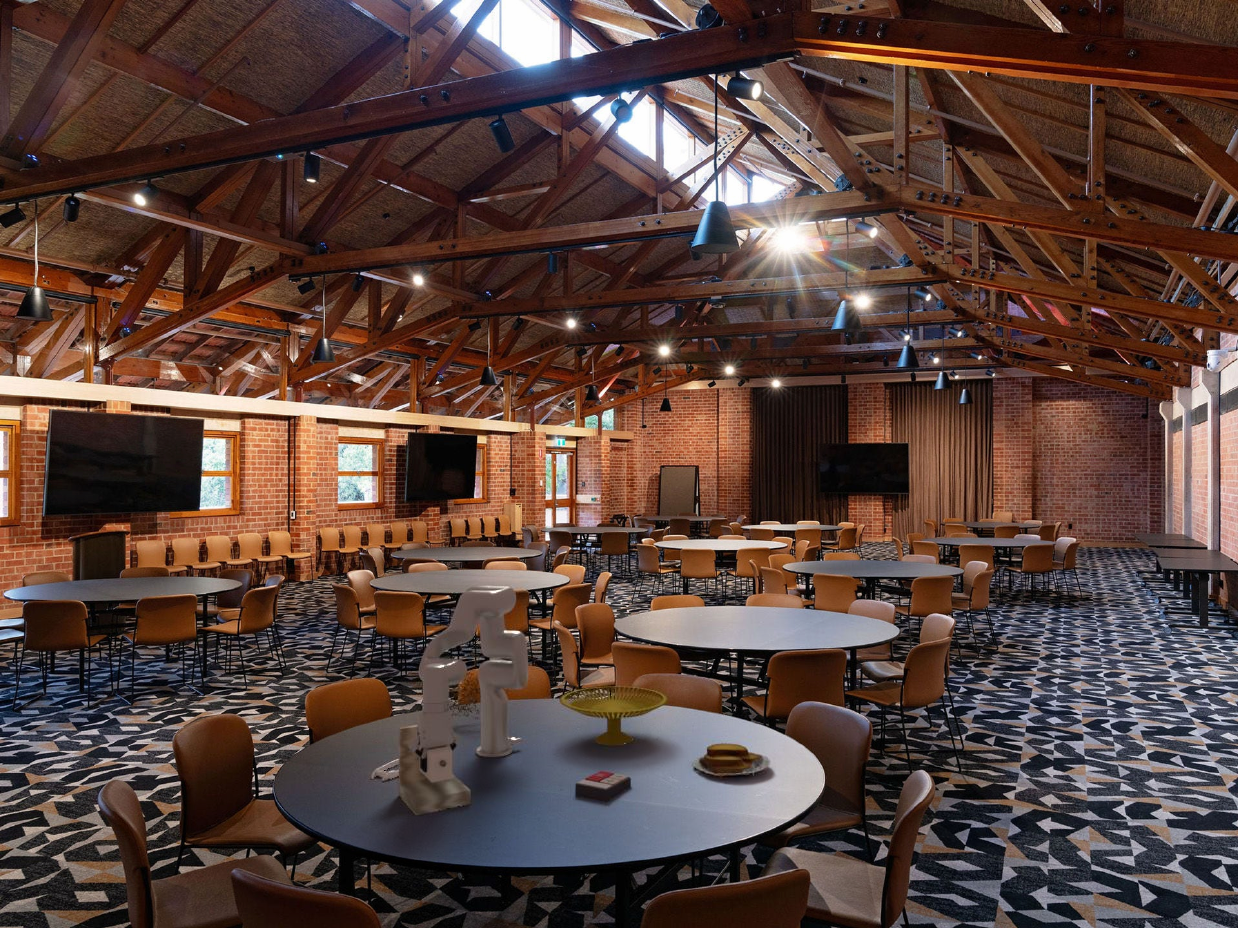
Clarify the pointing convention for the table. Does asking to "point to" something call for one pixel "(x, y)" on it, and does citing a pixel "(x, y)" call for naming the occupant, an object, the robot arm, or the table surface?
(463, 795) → the beige zigzag bookend
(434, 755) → the pale taupe block
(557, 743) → the table surface
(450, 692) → the dried plant
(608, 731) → the yellow pedestal fruit bowl
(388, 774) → the door handle
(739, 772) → the food on plate
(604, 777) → the small patterned box
